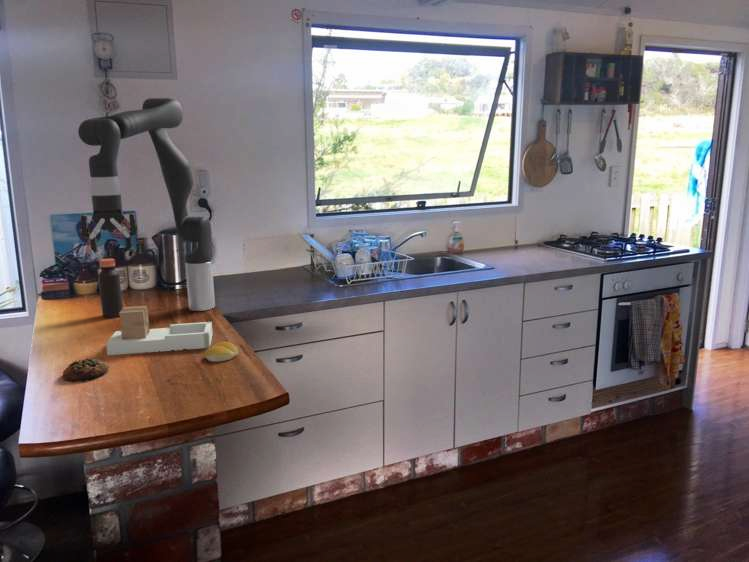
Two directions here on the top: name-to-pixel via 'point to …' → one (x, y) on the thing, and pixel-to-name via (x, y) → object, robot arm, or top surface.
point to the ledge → (138, 343)
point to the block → (134, 322)
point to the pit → (189, 336)
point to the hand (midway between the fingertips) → (112, 251)
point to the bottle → (110, 289)
